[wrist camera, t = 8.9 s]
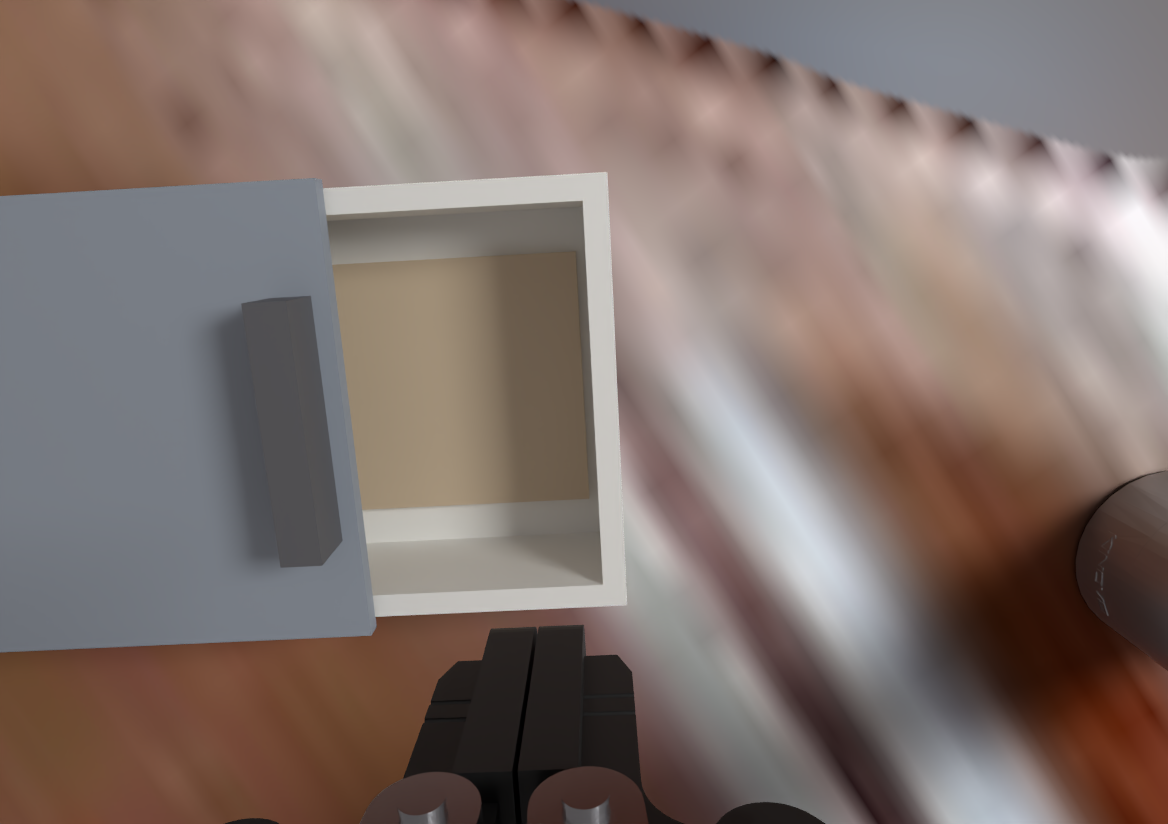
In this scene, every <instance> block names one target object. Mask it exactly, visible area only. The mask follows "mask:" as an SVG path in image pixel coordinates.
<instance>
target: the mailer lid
mask: <svg viewBox="0 0 1168 824" xmlns="http://www.w3.org/2000/svg"><path fill="white" fill-rule="evenodd" d="M375 628H376V618H375V610H374V602H373V594H372V585H371V577H370V569H369V561H368V553H367V545H366V536H365V528H364V520H363V512H362V504H361V496H360V488H359V479H358V471H357V463H356V455H355V447H354V439H353V430H352V422H351V414H350V406H349V398H348V390H347V381H346V373H345V365H344V357H343V349H342V341H341V333H340V324H339V316H338V308H337V300H336V292H335V284H334V275H333V267H332V259H331V251H330V243H329V235H328V226H327V218H326V210H325V202H324V194H323V186H322V180H321V179H316V178H308V179H291V180H274V181H256V182H239V183H222V184H204V185H187V186H170V187H152V188H135V189H118V190H101V191H83V192H66V193H49V194H31V195H14V196H0V652H18V651H40V650H62V649H84V648H106V647H128V646H151V645H173V644H195V643H217V642H239V641H261V640H283V639H305V638H327V637H349V636H371V635H372V634H373V632H374V630H375Z"/></svg>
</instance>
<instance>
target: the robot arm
mask: <svg viewBox="0 0 1168 824" xmlns="http://www.w3.org/2000/svg"><path fill="white" fill-rule="evenodd" d="M1076 578H1077V582H1078V586H1079V589H1080V593H1081V595H1082V597H1083V598H1084V600H1085V602H1086V604H1087V605H1088V607H1089V608H1090V609H1091V610H1092V611H1093V613H1094V614H1095V615H1096V616H1097V617H1098V618H1099V619H1100V620H1102V621H1103V622H1104V623H1106V624H1107V625H1108V626H1110V627H1111V628H1112V629H1114V630H1115V631H1116V632H1117V633H1119V634H1120V635H1121V636H1123V637H1124V638H1125V639H1127V640H1128V641H1129V642H1131V643H1132V644H1133V645H1135V646H1136V647H1137V648H1139V649H1140V650H1141V651H1143V652H1144V653H1145V654H1147V655H1148V656H1149V657H1150V658H1151V659H1153V660H1154V661H1155V662H1157V663H1158V664H1159V665H1161V666H1162V667H1163V668H1165V669H1166V670H1167V671H1168V471H1164V472H1160V473H1155V474H1151V475H1147V476H1145V477H1143V478H1140V479H1138V480H1136V481H1134V482H1131V483H1129V484H1127V485H1126V486H1125V487H1123V488H1122V489H1120V490H1119V491H1117V492H1116V493H1114V494H1113V495H1111V496H1110V497H1109V498H1108V499H1107V500H1106V501H1105V502H1104V503H1103V504H1102V505H1101V506H1100V507H1099V508H1098V509H1097V511H1096V512H1095V514H1094V515H1093V517H1092V518H1091V519H1090V521H1089V522H1088V524H1087V525H1086V528H1085V530H1084V532H1083V535H1082V537H1081V539H1080V541H1079V546H1078V551H1077V556H1076ZM225 824H279V823H277V822H274V821H272V820H268V819H261V818H250V819H241V820H236V821H232V822H228V823H225ZM360 824H683V823H681V822H678V821H676V820H674V819H672V818H670V817H668V816H666V815H665V814H663V813H662V812H661V811H659V810H658V809H657V808H656V807H655V806H654V805H653V804H652V803H651V802H650V801H649V800H648V798H647V797H646V795H645V793H644V791H643V788H642V784H641V776H640V764H639V752H638V740H637V727H636V715H635V703H634V691H633V679H632V672H631V670H630V669H629V668H628V667H627V666H626V665H625V663H624V662H623V661H622V660H621V659H620V657H619V656H618V655H600V656H586V648H585V632H584V625H567V626H543V627H539V629H538V634H537V629H536V627H522V628H498V629H491V630H490V633H489V636H488V640H487V644H486V647H485V651H484V655H483V659H482V660H479V661H458V662H457V663H456V664H455V665H454V666H453V667H452V668H450V669H449V670H448V671H447V672H446V673H445V674H444V675H443V676H442V677H441V678H440V679H439V680H438V683H437V685H436V688H435V691H434V694H433V697H432V699H431V705H429V708H428V711H427V713H426V716H425V723H423V725H422V727H421V730H420V733H419V736H418V739H417V741H416V744H415V747H414V750H413V753H412V755H411V758H410V761H409V764H408V767H407V769H406V772H405V775H404V778H403V779H402V780H400V781H398V782H396V783H394V784H392V785H390V786H389V787H387V788H386V789H384V790H383V791H382V792H381V793H380V794H378V795H377V796H376V797H375V799H374V800H373V801H372V802H371V804H370V805H369V807H368V808H367V810H366V812H365V814H364V816H363V818H362V820H361V822H360ZM717 824H825V823H824V822H822V821H821V820H819V819H817V818H816V817H814V816H813V815H811V814H809V813H807V812H805V811H803V810H801V809H798V808H796V807H792V806H789V805H785V804H779V803H770V802H760V803H751V804H746V805H743V806H740V807H737V808H735V809H733V810H731V811H729V812H728V813H726V814H725V815H724V816H723V817H722V818H721V819H720V820H719V821H718V822H717Z"/></svg>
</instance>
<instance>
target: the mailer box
mask: <svg viewBox="0 0 1168 824" xmlns="http://www.w3.org/2000/svg"><path fill="white" fill-rule="evenodd" d="M323 194H324V202H325V210H326V218H327V226H328V235H329V243H330V251H331V259H332V267H333V275H334V284H335V292H336V300H337V308H338V316H339V324H340V333H341V341H342V349H343V357H344V365H345V373H346V381H347V390H348V398H349V406H350V414H351V422H352V430H353V439H354V447H355V455H356V463H357V471H358V479H359V488H360V496H361V504H362V512H363V520H364V528H365V536H366V545H367V553H368V561H369V569H370V577H371V585H372V594H373V602H374V610H375V617H381V616H403V615H425V614H447V613H469V612H490V611H512V610H534V609H556V608H578V607H600V606H622V605H627V590H626V568H625V547H624V525H623V503H622V481H621V460H620V438H619V416H618V394H617V372H616V351H615V329H614V307H613V285H612V264H611V242H610V220H609V198H608V177H607V172H600V173H583V174H566V175H548V176H531V177H513V178H496V179H479V180H461V181H444V182H426V183H409V184H392V185H374V186H357V187H339V188H323Z"/></svg>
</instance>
